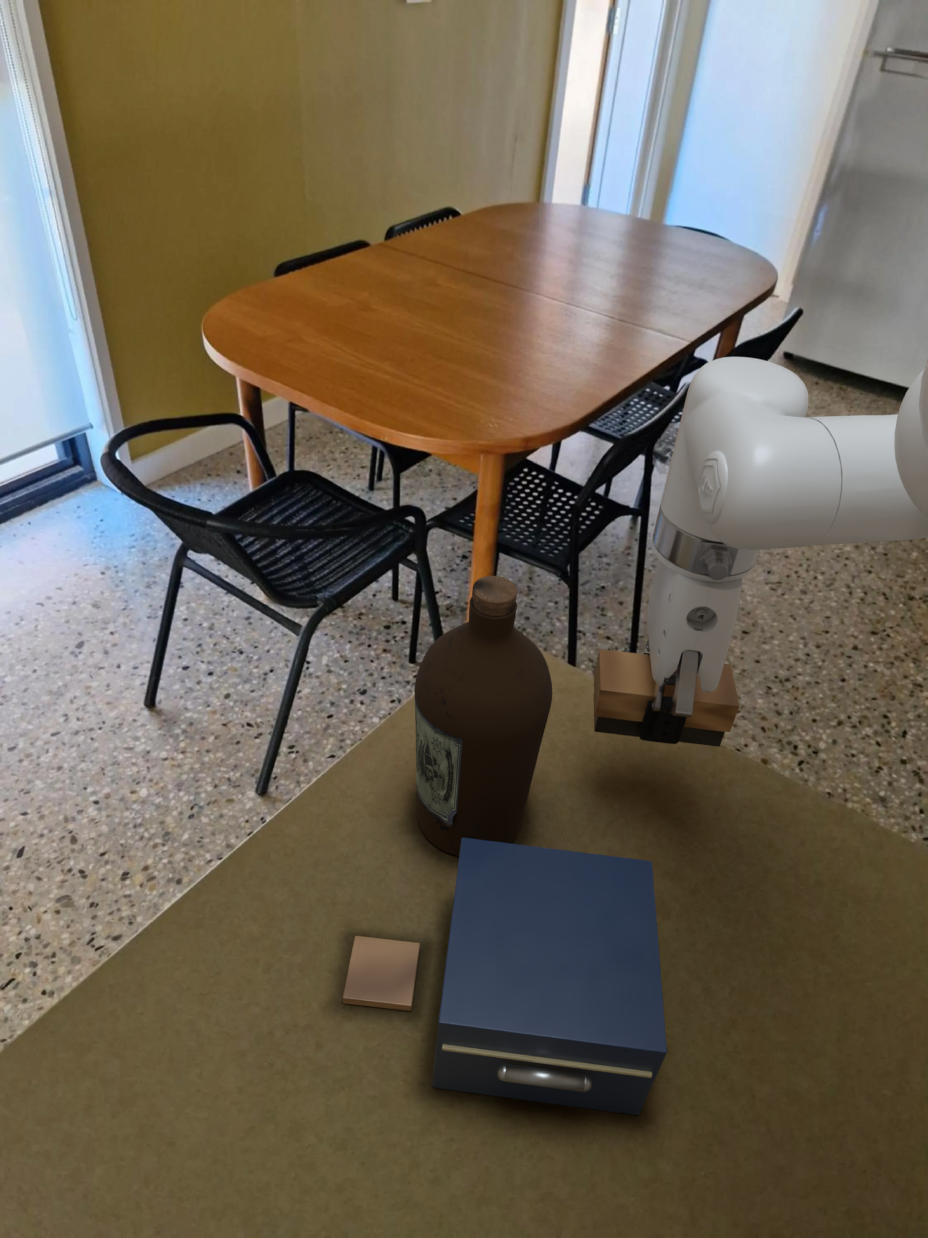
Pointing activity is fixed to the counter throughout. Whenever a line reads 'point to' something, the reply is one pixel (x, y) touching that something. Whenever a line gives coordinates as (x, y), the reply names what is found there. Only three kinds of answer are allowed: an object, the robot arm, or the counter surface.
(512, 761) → the olive oil
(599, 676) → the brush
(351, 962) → the coaster
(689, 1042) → the counter surface
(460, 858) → the blue drawer box
